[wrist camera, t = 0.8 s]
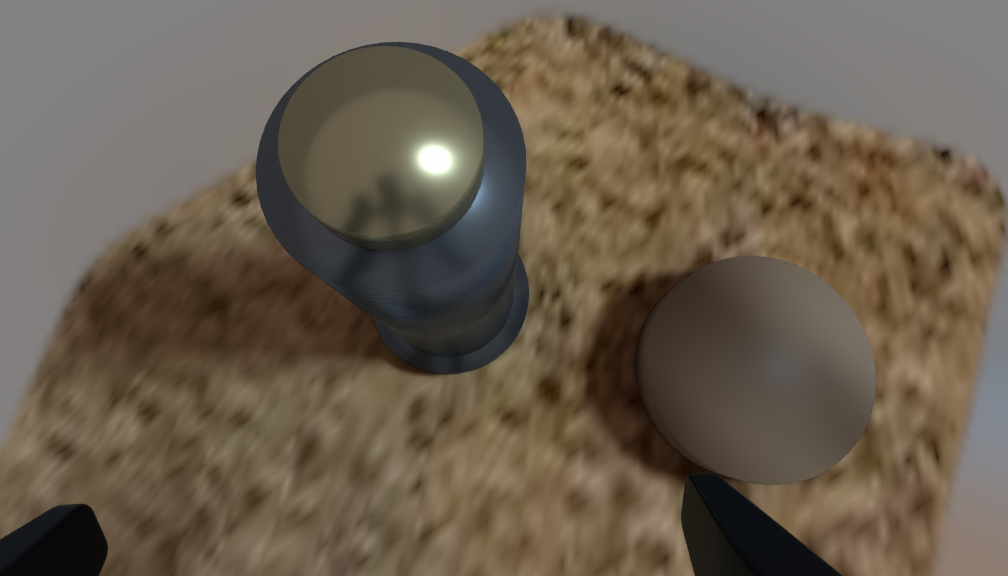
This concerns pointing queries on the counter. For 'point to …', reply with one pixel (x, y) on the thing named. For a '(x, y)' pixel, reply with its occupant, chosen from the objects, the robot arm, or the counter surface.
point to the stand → (756, 371)
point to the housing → (404, 198)
